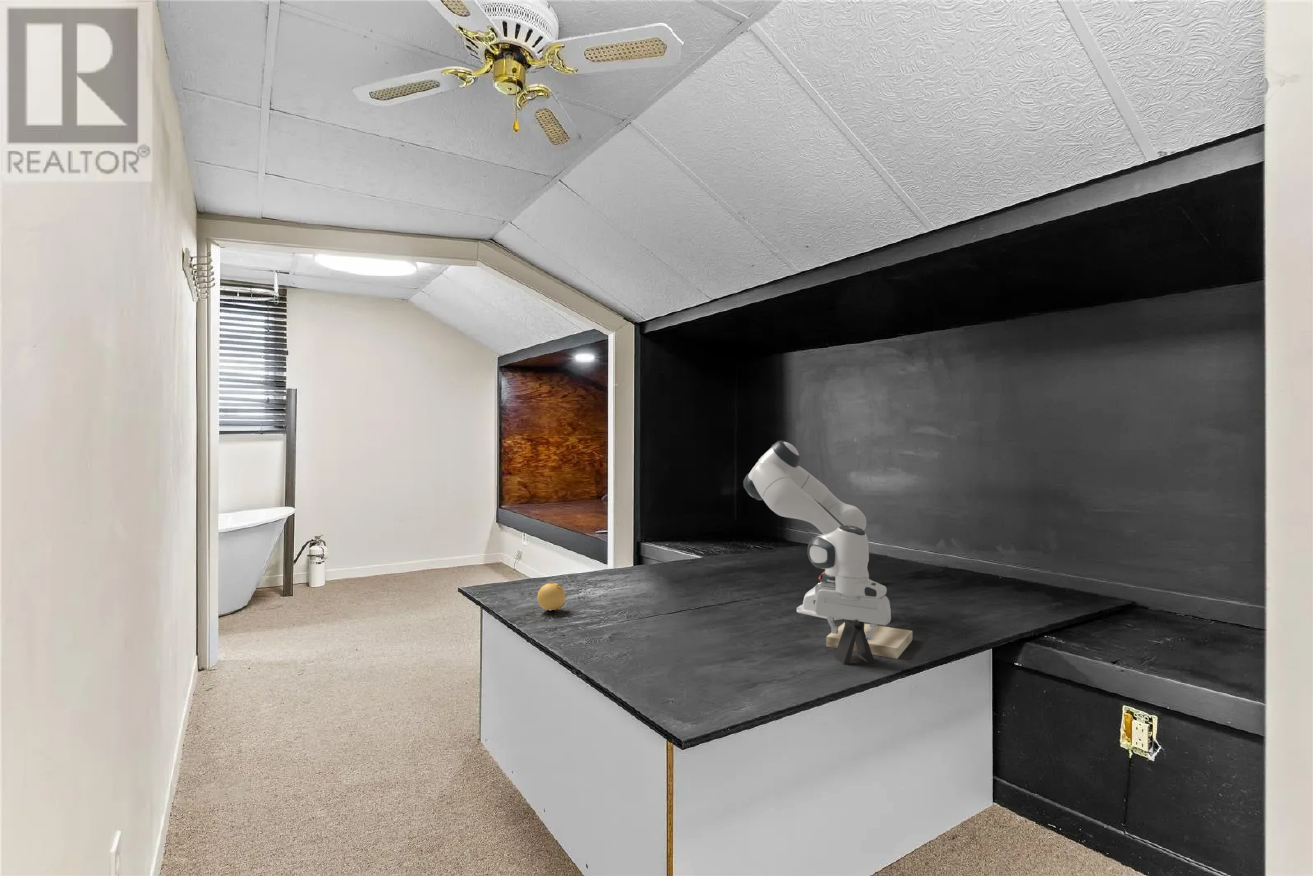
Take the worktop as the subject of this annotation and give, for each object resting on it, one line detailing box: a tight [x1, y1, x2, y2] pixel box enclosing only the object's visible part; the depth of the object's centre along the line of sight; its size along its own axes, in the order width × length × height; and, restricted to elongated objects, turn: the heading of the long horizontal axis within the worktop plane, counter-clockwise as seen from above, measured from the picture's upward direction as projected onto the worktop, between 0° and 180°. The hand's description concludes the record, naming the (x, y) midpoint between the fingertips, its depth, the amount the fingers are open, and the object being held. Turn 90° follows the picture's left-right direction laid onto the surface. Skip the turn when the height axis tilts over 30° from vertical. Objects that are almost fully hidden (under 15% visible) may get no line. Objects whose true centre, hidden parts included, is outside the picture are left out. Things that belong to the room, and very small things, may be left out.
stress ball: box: [537, 581, 566, 610], centre depth 230 cm, size 10×10×10 cm
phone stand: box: [834, 619, 876, 665], centre depth 178 cm, size 9×6×12 cm, turn 98°
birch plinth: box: [825, 621, 913, 660], centre depth 193 cm, size 20×20×3 cm
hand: (851, 636), depth 178 cm, fingers open, 8 cm apart
